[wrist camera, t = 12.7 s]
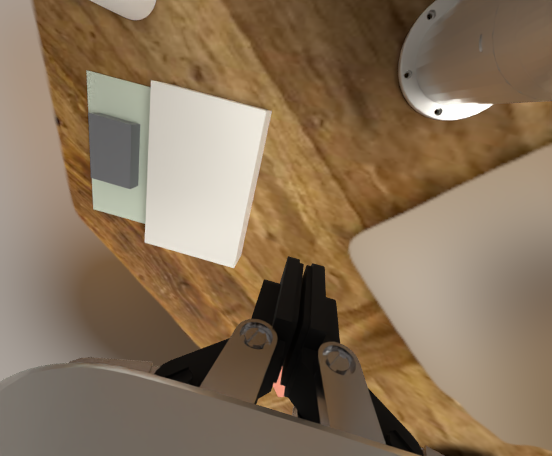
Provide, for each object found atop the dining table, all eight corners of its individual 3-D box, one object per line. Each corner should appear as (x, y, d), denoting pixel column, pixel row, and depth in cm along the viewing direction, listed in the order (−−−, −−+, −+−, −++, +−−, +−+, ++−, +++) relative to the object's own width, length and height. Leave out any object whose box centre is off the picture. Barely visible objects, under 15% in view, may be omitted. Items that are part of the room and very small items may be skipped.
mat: (89, 70, 36) (86, 70, 35) (164, 90, 36) (162, 90, 35) (95, 207, 44) (93, 208, 44) (156, 225, 44) (154, 226, 43)
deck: (168, 83, 35) (150, 80, 31) (271, 111, 35) (266, 110, 31) (159, 231, 44) (144, 242, 41) (240, 255, 44) (233, 268, 40)
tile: (131, 124, 35) (140, 124, 37) (88, 112, 36) (99, 112, 37) (129, 189, 39) (138, 185, 41) (91, 177, 39) (101, 174, 41)
